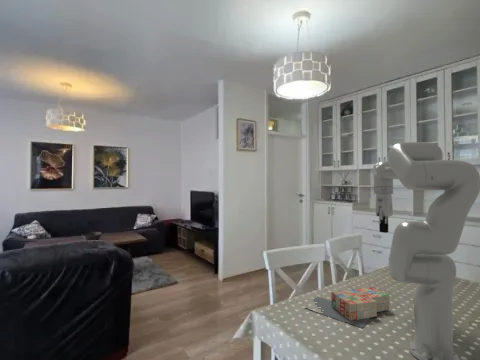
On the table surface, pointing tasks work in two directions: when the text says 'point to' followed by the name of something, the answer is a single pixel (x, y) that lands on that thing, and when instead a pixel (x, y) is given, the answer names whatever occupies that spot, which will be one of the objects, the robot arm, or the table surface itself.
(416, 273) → the robot arm
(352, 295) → the stack of blocks
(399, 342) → the table surface
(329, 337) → the table surface
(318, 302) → the mat
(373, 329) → the table surface
